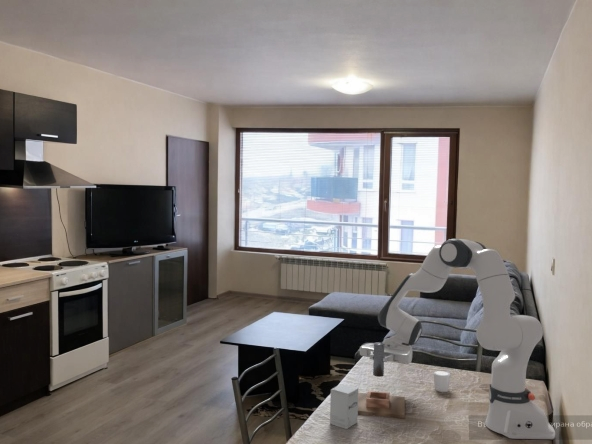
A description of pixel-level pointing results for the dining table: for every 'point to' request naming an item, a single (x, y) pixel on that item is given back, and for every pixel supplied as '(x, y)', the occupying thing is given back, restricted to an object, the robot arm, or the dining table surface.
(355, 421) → the supplement box
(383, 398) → the keeper board
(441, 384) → the shot glass
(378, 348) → the peg
